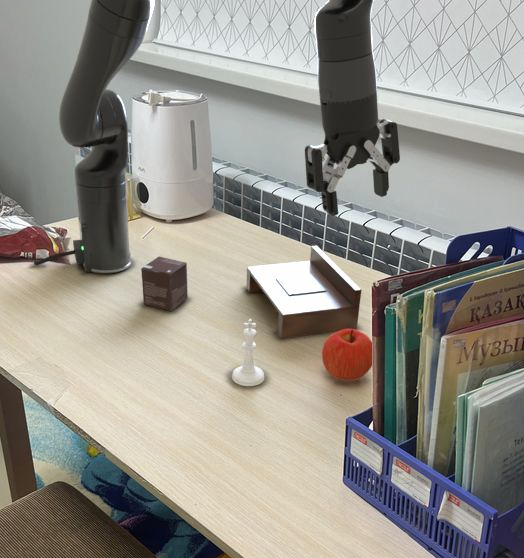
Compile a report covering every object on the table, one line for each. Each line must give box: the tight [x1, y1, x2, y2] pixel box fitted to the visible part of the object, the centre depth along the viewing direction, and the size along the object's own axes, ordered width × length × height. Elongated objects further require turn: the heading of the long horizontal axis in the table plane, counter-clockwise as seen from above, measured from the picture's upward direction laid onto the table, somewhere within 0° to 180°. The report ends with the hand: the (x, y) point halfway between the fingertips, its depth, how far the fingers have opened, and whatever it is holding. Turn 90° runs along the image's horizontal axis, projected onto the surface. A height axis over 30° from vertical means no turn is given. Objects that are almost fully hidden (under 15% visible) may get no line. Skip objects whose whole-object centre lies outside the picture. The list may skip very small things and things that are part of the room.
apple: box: [321, 329, 373, 381], centre depth 106 cm, size 8×8×8 cm
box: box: [140, 256, 189, 312], centre depth 124 cm, size 6×6×7 cm
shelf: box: [245, 245, 362, 339], centre depth 125 cm, size 14×20×8 cm
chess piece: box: [231, 318, 265, 387], centre depth 103 cm, size 5×5×10 cm
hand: (356, 204), depth 100 cm, fingers open, 8 cm apart
